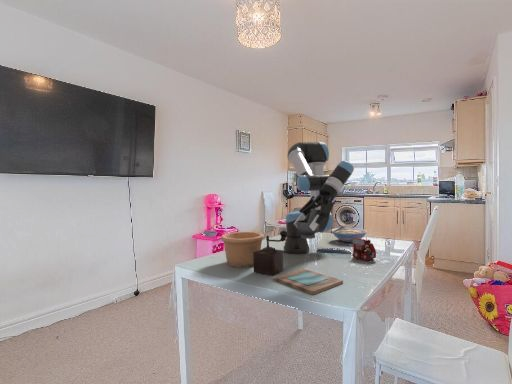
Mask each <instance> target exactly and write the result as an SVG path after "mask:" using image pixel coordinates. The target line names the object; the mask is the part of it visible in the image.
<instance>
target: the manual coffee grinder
mask: <svg viewBox="0 0 512 384" xmlns="http://www.w3.org/2000/svg"><path fill="white" fill-rule="evenodd" d="M279 235H280V239H270V238H269V237H270V236H269V235H266V238H265V241H266V247H263V248H261V250H259V251H256V252H253V262H254V266H253V273H255V272H256V273H255V274H259V273H260V275H265V276H270V275H271V277H274V276H275V275H277V274H279V273H280V272H283V270H284V249H283V250H282V249H276V248H275V247H273V246H270V242H276V243H280V242H284V241H286V237H287V235H288V233H287V232H286V230H281V231H280V232H279Z"/></svg>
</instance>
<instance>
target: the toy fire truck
mask: <svg viewBox="0 0 512 384" xmlns="http://www.w3.org/2000/svg"><path fill="white" fill-rule="evenodd" d="M352 245H353V248H352V250H353V251H352V257H353V258H354V260H359V259H360V258H361V259H362V261H365V262H368V261H369V260H373V259H375V258H376V257H377V250H376V248H375V246H374V244H373V243H372V242H371V240H370V239H364V238H362V239H358V238H354V239H353V242H352Z"/></svg>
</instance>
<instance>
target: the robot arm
mask: <svg viewBox="0 0 512 384" xmlns="http://www.w3.org/2000/svg"><path fill="white" fill-rule="evenodd" d="M329 155H330V152H329V147H328V144H326V143H325V142H323V141H302V142H301V141H300V142H296V143H294V144H293V145H292V146H291V147H289V149H288V151H287V160H288V162H289V163H290V164H291V165H292V166H293V168H294V171H295V173H296V176H297V178H296V188H297V190H298V191H301V192H303V191H304V192H309V196H310V197H309V198H310V199H309V200H308V201H307V202H306V203H305V204H304V205H303V206H302V207H301V208H300V209H299V210H294V211H290V212H288V213H287V214H286V215H285V229H286V230H285V231H286V232H287V233H288V235H287V237H286V241H285V242H284V246H283V253H287V254H293V255H300V254H303V255H304V254H307V253H309V252H310V246H309V244H308V243H309V242H308V239H304V238H301V233H300V232H299V231H298V229H297V221H300V220H308V219H309V216H310V213H311V209H316V210H317V212H316V215H315V219H314V220H313V222H312V223H311V224H310V226H309V227H310V228H311V230H312V231H314V230H315V229H316V227H317V226H318V224H319V229H318V231H317V232H316V233H328V232H330V231H331V230H332V226H333V216H332V215H333V214H332V213H331V212H332V210H333V207H334V205H335V204H336V202H337V200H336V197H337V196H338V194H339V193H340V192H341V190H342V189H343V187H344V185H345V184H346V182H347V181H348V179H350V177H351V176H352V174H353V172H354V171H355V168H354V166H353V164H352V163H350V162H349V161H347V160H340V162H339V163H338V164H337V165H336V167H335V168H334V170H333V171H332V172H331V173H330V174H325V173H324V172H325V171H324V166H326V164H327V163H326V162H328V161H329V159H330V156H329ZM316 233H315V234H316Z"/></svg>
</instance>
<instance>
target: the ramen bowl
mask: <svg viewBox="0 0 512 384" xmlns="http://www.w3.org/2000/svg"><path fill="white" fill-rule="evenodd" d="M330 231H331V233H332V234H333V235H334V237H335V238H337V239H339V240H340V241H343V242H344V243H353V239H354V238H358V239H364V236H365V235H366V234H367V231H368V230H366V229H363V228H358V227H347V225H341V226H340V227H337V228H331V229H330Z"/></svg>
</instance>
